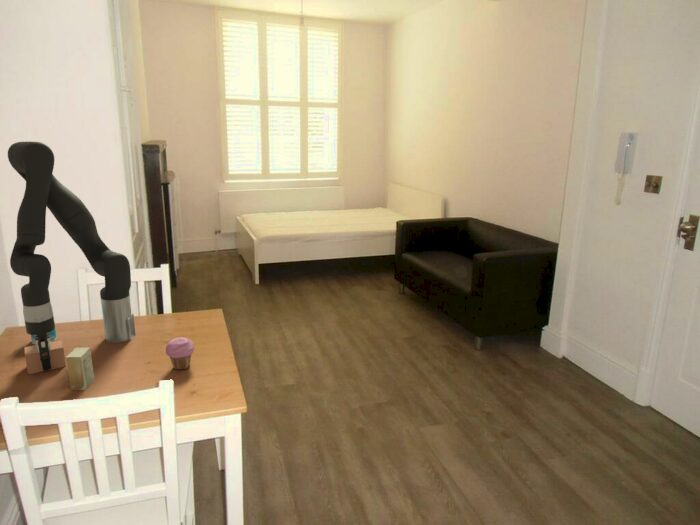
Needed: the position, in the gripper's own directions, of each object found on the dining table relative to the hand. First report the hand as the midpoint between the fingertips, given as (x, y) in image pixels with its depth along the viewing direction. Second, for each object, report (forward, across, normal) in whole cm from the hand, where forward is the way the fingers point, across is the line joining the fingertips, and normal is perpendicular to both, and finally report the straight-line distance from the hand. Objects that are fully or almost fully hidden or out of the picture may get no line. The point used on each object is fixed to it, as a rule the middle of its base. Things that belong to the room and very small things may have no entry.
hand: (46, 364), depth 149 cm
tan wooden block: (+2, 0, 0) cm, 2 cm away
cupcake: (+2, +19, +36) cm, 41 cm away
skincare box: (+2, +18, +8) cm, 20 cm away
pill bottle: (+2, -22, 0) cm, 22 cm away
